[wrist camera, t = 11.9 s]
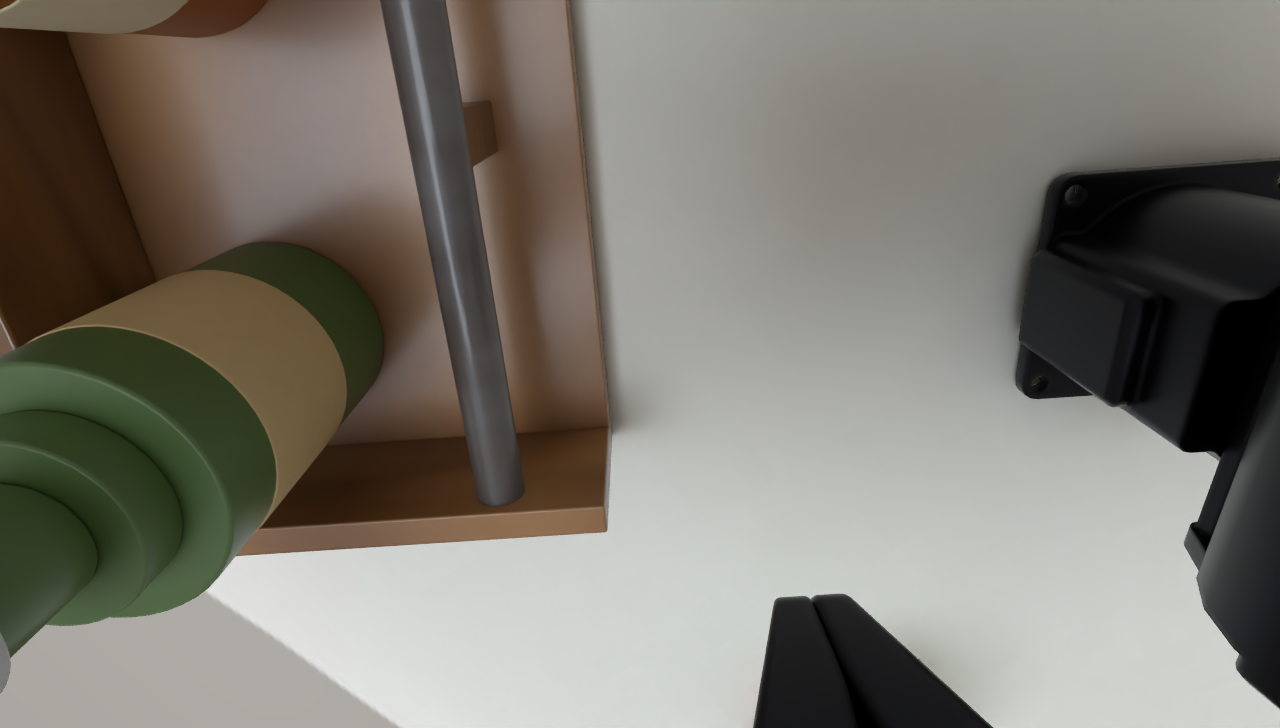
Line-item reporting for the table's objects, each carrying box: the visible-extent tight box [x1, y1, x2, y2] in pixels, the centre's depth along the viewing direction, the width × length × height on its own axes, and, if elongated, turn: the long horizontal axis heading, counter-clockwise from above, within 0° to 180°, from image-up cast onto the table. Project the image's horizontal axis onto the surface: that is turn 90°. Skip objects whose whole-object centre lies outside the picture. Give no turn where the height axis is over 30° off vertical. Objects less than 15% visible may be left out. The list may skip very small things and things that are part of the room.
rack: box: [0, 0, 612, 556], centre depth 15 cm, size 12×19×5 cm, turn 4°
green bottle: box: [0, 242, 384, 693], centre depth 14 cm, size 10×5×12 cm
